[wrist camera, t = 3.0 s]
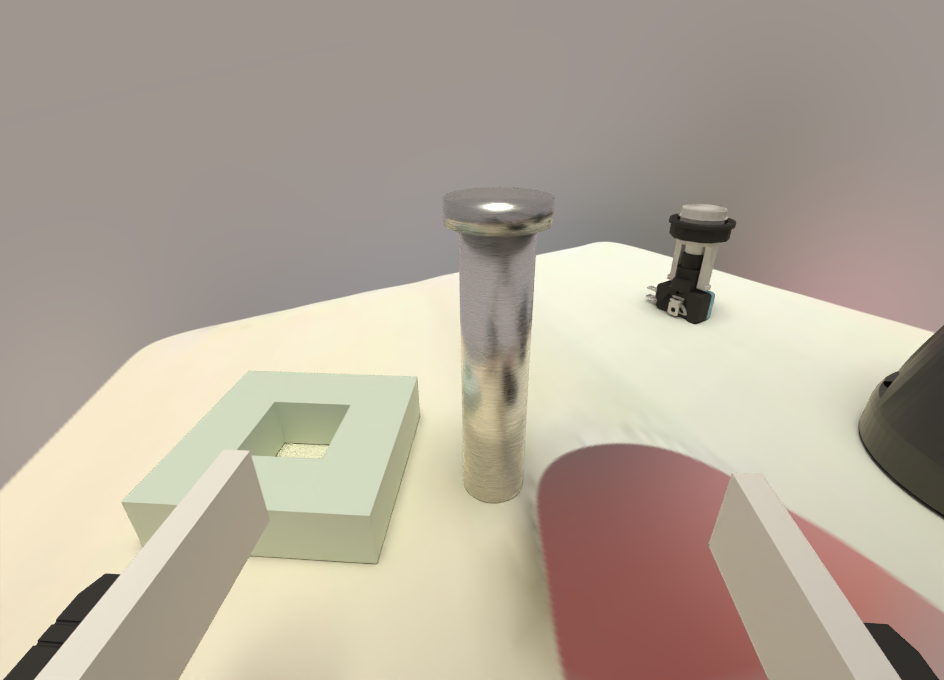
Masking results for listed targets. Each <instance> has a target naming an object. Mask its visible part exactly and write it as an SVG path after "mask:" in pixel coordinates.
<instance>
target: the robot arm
mask: <svg viewBox="0 0 944 680" xmlns="http://www.w3.org/2000/svg"><path fill="white" fill-rule="evenodd" d="M859 430H860V434H861V437H862V440H863V442H864V444H865V446H866V447H867V449H868V450H869V452H870V453H871V455H872V456H873V457H874V458H875V460H876V461H877V462H878V463H879V464H880V465H881V466H882V467H883V468H884V469H885V470H886V471H887V472H888V473H889V474H890V475H891V476H892V477H893V478H894V479H895V480H896V481H898V482H899V483H900V484H901V485H902V486H904V487H905V488H906V489H907V490H909V491H910V492H911V493H912V494H914V495H915V496H917V497H918V498H919V499H921V500H922V501H923V502H925V503H926V504H928V505H929V506H931V507H932V508H934V509H935V510H937V511H938V512H940V513H941V514H943V515H944V326H942V327H941V328H940V329H939V330H938V331H937V332H936V333H935V334H934V335H933V336H931V337H930V338H929V339H928V340H927V341H926V342H925V343H924V344H923V345H922V346H921V347H920V348H919V349H918V350H917V351H916V352H915V353H914V354H913V355H912V356H911V357H910V358H909V359H908V360H907V361H906V362H905V364H904V365H903V366H902V367H901V368H900V370H899V371H898V372H895V373H893V374H891V375H889V376H887V377H886V378H885V379H884V380H883V381H881V382H880V383H879V384H878V385H877V387H876V388H875V390H874V391H873V392H872V395H871V397H870V399H869V401H868V403H867V405H866V407H865V409H864V412H863V414H862V416H861V418H860V422H859ZM269 521H270V518H269V515H268V511H267V508H266V504H265V501H264V498H263V494H262V491H261V487H260V484H259V481H258V477H257V474H256V470H255V467H254V463H253V460H252V457H251V453H250V451H245V450H223V451H222V452H221V453H220V455H219V456H218V457H217V458H216V459H215V461H214V462H213V463H212V464H211V466H210V467H209V468H208V469H207V470H206V472H205V473H204V474H203V475H202V476H201V478H200V479H199V480H198V481H197V483H196V484H195V485H194V486H193V487H192V489H191V490H190V491H189V492H188V493H187V495H186V496H185V497H184V498H183V500H182V501H181V502H180V503H179V504H178V506H177V507H176V508H175V509H174V510H173V512H172V513H171V514H170V515H169V516H168V518H167V519H166V520H165V521H164V523H163V524H162V525H161V526H160V527H159V529H158V530H157V531H156V532H155V533H154V535H153V536H152V537H151V538H150V540H149V541H148V542H147V543H146V544H145V546H144V547H143V548H142V549H141V550H140V552H139V553H138V554H137V555H136V557H135V558H134V559H133V560H132V561H131V563H130V564H129V565H128V566H127V567H126V569H125V570H124V571H123V572H122V574H121V575H120V574H104V575H103V576H102V577H100V578H99V579H98V580H96V581H95V582H94V583H92V584H91V585H90V586H88V587H87V588H86V589H85V590H83V591H82V592H81V593H79V594H78V595H77V596H76V597H75V599H74V600H73V601H72V602H71V603H70V604H69V605H68V607H67V608H66V609H65V610H64V611H63V612H62V613H61V614H60V616H59V617H58V618H57V619H56V623H55V624H54V625H53V624H52V625H51V626H50V627H49V628H48V629H47V630H46V632H45V633H44V634H43V635H42V636H41V637H40V638H39V640H38V643H37V645H36V646H32V648H31V649H30V650H29V651H28V652H27V653H26V654H25V656H24V657H23V658H22V659H21V660H20V661H19V662H18V664H17V665H16V666H15V667H14V668H13V669H12V670H11V672H10V673H9V674H8V675H7V676H6V677H5V678H4V679H3V680H179V678H180V676H181V674H182V673H183V671H184V669H185V667H186V666H187V664H188V662H189V660H190V659H191V657H192V655H193V653H194V652H195V650H196V648H197V647H198V645H199V643H200V641H201V640H202V638H203V636H204V634H205V633H206V631H207V629H208V627H209V626H210V624H211V622H212V620H213V619H214V617H215V615H216V613H217V612H218V610H219V608H220V606H221V605H222V603H223V601H224V599H225V598H226V596H227V594H228V593H229V591H230V589H231V587H232V586H233V584H234V582H235V580H236V579H237V577H238V575H239V573H240V572H241V570H242V568H243V566H244V565H245V563H246V561H247V559H248V558H249V556H250V554H251V552H252V551H253V549H254V547H255V545H256V544H257V542H258V540H259V539H260V537H261V535H262V533H263V532H264V530H265V528H266V526H267V525H268V523H269ZM708 545H709V548H710V550H711V552H712V554H713V557H714V559H715V561H716V563H717V566H718V568H719V570H720V572H721V574H722V576H723V579H724V581H725V584H726V586H727V588H728V590H729V593H730V595H731V597H732V599H733V601H734V604H735V606H736V608H737V610H738V613H739V615H740V617H741V619H742V622H743V624H744V626H745V628H746V630H747V633H748V635H749V637H750V640H751V642H752V644H753V646H754V648H755V651H756V653H757V655H758V657H759V660H760V662H761V664H762V667H763V669H764V671H765V673H766V675H767V678H768V680H939V679H938V678H937V676H936V675H935V674H934V673H933V671H932V669H931V668H930V667H929V665H928V664H927V663H926V661H925V660H924V659H923V657H922V656H921V655H920V653H919V652H918V651H917V650H916V649H915V648H914V647H912V646H911V645H910V644H909V643H908V642H907V641H906V640H905V639H903V638H902V637H901V636H900V635H899V634H898V633H897V632H895V631H894V630H893V629H892V628H891V627H890V626H889V625H887V624H875V623H863V622H862V621H861V619H860V618H859V616H858V615H857V613H856V612H855V611H854V609H853V607H852V606H851V604H850V603H849V601H848V600H847V598H846V597H845V596H844V594H843V593H842V591H841V590H840V588H839V587H838V585H837V584H836V582H835V581H834V579H833V578H832V576H831V575H830V573H829V572H828V570H827V569H826V567H825V566H824V565H823V563H822V561H821V560H820V558H819V557H818V556H817V554H816V553H815V551H814V550H813V548H812V547H811V545H810V544H809V542H808V541H807V539H806V538H805V536H804V535H803V533H802V532H801V530H800V529H799V528H798V526H797V524H796V523H795V522H794V520H793V519H792V517H791V516H790V514H789V513H788V511H787V510H786V508H785V507H784V505H783V504H782V502H781V501H780V499H779V498H778V496H777V495H776V493H775V492H774V490H773V489H772V487H771V486H770V484H769V483H768V482H767V480H766V479H765V477H764V476H763V474H743V473H732V475H731V478H730V481H729V484H728V488H727V491H726V493H725V496H724V500H723V502H722V505H721V508H720V512H719V514H718V517H717V520H716V524H715V527H714V530H713V533H712V535H711V538H710V541H709V544H708Z"/></svg>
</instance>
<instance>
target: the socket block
mask: <svg viewBox="0 0 944 680" xmlns="http://www.w3.org/2000/svg"><path fill="white" fill-rule="evenodd" d="M419 418H420V407H419V393H418V379H417V377H411V376H383V375H354V374H325V373H296V372H268V371H248V372H247V373H246V374H245V375H244V376H243V377H242V378H241V379H240V380H239V381H238V382H237V383H236V385H235V386H234V387H233V388H232V389H231V390H230V391H229V392H228V393H227V394H226V395H225V396H224V397H223V398H222V399H221V400H220V401H219V402H218V403H217V404H216V405H215V406H214V407H213V408H212V409H211V410H210V411H209V412H208V413H207V414H206V415H205V416H204V417H203V418H202V419H201V420H200V421H199V422H198V423H197V425H196V426H195V427H194V428H193V429H192V430H191V431H190V432H189V433H188V434H187V435H186V436H185V437H184V438H183V439H182V440H181V441H180V442H179V443H178V444H177V445H176V446H175V447H174V448H173V449H172V450H171V451H170V452H169V453H168V454H167V455H166V456H165V457H164V458H163V459H162V460H161V461H160V462H159V463H158V465H157V466H156V467H155V468H154V469H153V470H152V471H151V472H150V473H149V474H148V475H147V476H146V477H145V478H144V479H143V480H142V481H141V482H140V483H139V484H138V485H137V486H136V487H135V488H134V489H133V490H132V491H131V492H130V493H129V494H128V495H127V496H126V497H125V498H124V499H123V500H122V501H121V503H122V505H123V507H124V509H125V511H126V513H127V515H128V517H129V519H130V521H131V523H132V525H133V527H134V529H135V531H136V533H137V535H138V537H139V539H140V541H141V543H142V546H143V547H144V546H145V544H146V543H147V542H148V541H149V540H150V538H151V537H152V536H153V535H154V533H155V532H156V531H157V530H158V529H159V527H160V526H161V525H162V524H163V523H164V521H165V520H166V519H167V518H168V516H169V515H170V514H171V513H172V512H173V510H174V509H175V508H176V507H177V506H178V504H179V503H180V502H181V501H182V500H183V498H184V497H185V496H186V495H187V493H188V492H189V491H190V490H191V489H192V487H193V486H194V485H195V484H196V483H197V481H198V480H199V479H200V478H201V476H202V475H203V474H204V473H205V472H206V470H207V469H208V468H209V467H210V466H211V464H212V463H213V462H214V461H215V459H216V458H217V457H218V456H219V455H220V453H221V452H222V451H223V450H245V451H250V453H251V457H252V460H253V463H254V467H255V470H256V474H257V477H258V481H259V484H260V487H261V491H262V494H263V498H264V501H265V504H266V508H267V511H268V515H269V518H270V521H269V523H268V525H267V526H266V528H265V530H264V532H263V533H262V535H261V537H260V539H259V540H258V542H257V544H256V545H255V547H254V549H253V551H252V552H251V554H250V556H263V557H279V558H294V559H310V560H326V561H341V562H357V563H372V564H377V562H378V558H379V555H380V551H381V548H382V545H383V541H384V538H385V534H386V531H387V527H388V524H389V521H390V517H391V514H392V510H393V507H394V503H395V500H396V497H397V493H398V490H399V486H400V483H401V479H402V476H403V473H404V469H405V466H406V462H407V459H408V455H409V452H410V449H411V445H412V442H413V438H414V435H415V431H416V428H417V424H418V421H419ZM284 443H304V444H326V445H329V447H328V449H327V451H326V452H325V454H324V456H323V458H322V459H314V458H293V457H275V456H276V455H277V453H278V452H279V450H280V449H281V447H282V446H283V444H284Z"/></svg>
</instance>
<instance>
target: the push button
mask: <svg viewBox="0 0 944 680" xmlns="http://www.w3.org/2000/svg"><path fill="white" fill-rule="evenodd" d="M726 213H727V209H726V208H725V207H721V206H716V205H708V204H687V205H684V206H683V207H682V212H681V213H679V214H674V215H671V216H670V219H669V222H670V223H671V227H670V234H671V235H672V236H673V237H674V238H676V240H677V242H676V247H675V252H674V257H673V262H672V267H671V272H670V274H669V275H668V277H667V279H670V280H669V281H666V282H663V283H660V284H658V286H657V287H654V286H649V287H647V288H648V289H651V290H654V291H655V292H656V296H654V295H651V294H649V295H646V297H648V298H651V299H653V300H654V301H657V303H656V306H657V308H659V309H662V310H664V311H667V312H668V314H671V315H673V316H680V317H682V318H685V319H687V320H688V321H689V322H691V323H693V324H695V323H697V322H700V321H702V320H705V319H707V318H709V317H710V314H711V310H712V306H713V302H714V298H715V294H714V293H713V292H711V291H708V290H710V288H711V285H709V282H710V278H711V273H712V269H713V265H714V261H715V257H716V253H717V249H718V246H719V243H720V242H726V241H727V240H728V239H729V238H730V234H731V230H732V229H733V228H734V227H735V225H736V221H735V220H733V219H730V218H728V217H727V216H726ZM652 288H655V289H652ZM650 296H653V297H650Z"/></svg>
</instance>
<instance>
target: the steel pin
mask: <svg viewBox="0 0 944 680" xmlns="http://www.w3.org/2000/svg"><path fill="white" fill-rule="evenodd" d="M554 199H555V198H554V196H553V195H551V194H549V193H546V192H542V191H538V190H531V189H521V188H501V187H498V188H475V189H465V190H459V191H454V192H450V193H448V194H446V195H444V196H443V219H444V220H443V221H444V225H445V226H446V227H447V228H449V229H451V230H453V231H457V232H459V274H460V323H461V371H462V420H463V468H464V485H465V488H466V490H467V491H468V493H469V494H470V495H472V496H473V497H474V498H476V499H478V500H480V501H484V502H488V503H500V502H505V501H508V500H510V499H512V498H513V497H515V496H516V495H517V494H518V493H519V492H520V490H521V488H522V483H523V466H524V448H525V431H526V414H527V396H528V379H529V362H530V345H531V327H532V310H533V293H534V275H535V258H536V240H537V232H541V231H544V230H547V229H549V228H550V227H551V226H552V225H553V213H554Z"/></svg>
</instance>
